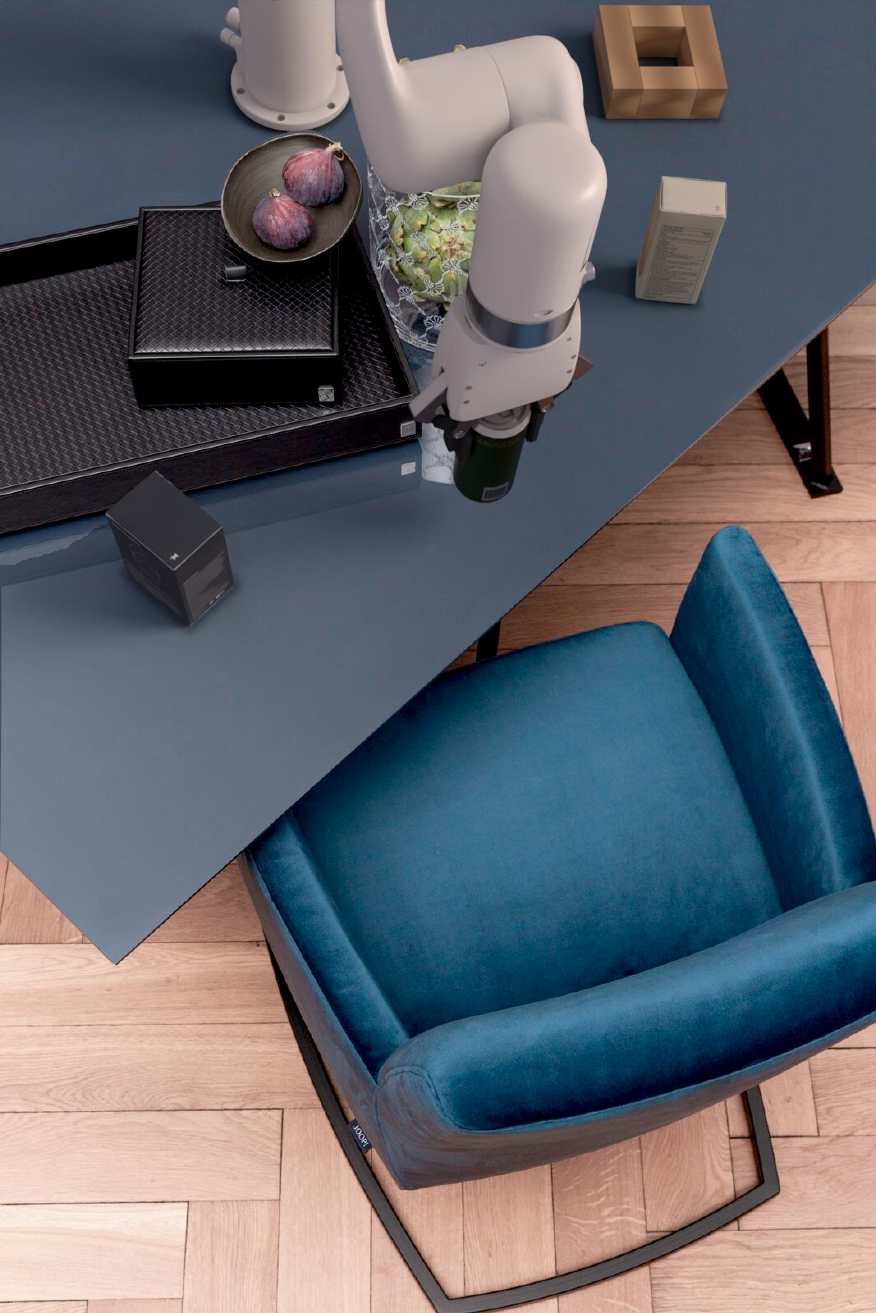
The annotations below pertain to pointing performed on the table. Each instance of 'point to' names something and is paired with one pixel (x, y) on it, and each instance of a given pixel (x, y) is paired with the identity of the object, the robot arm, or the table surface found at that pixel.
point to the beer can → (493, 455)
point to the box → (172, 547)
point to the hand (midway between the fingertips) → (491, 437)
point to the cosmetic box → (680, 239)
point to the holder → (659, 89)
